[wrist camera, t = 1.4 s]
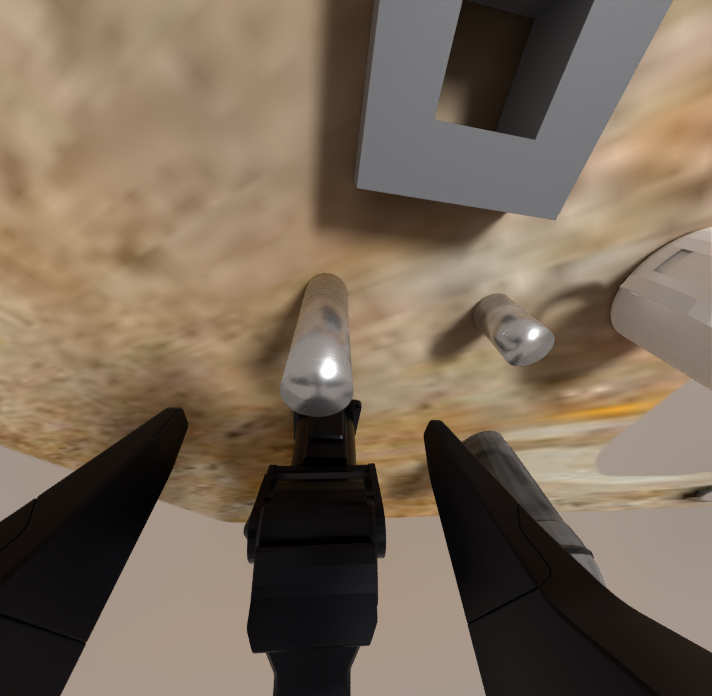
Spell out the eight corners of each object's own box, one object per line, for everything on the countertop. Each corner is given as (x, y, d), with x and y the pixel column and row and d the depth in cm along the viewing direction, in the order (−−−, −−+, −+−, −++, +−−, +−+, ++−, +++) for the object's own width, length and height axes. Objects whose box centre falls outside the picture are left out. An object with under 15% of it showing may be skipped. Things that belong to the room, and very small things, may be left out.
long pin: (344, 313, 20) (348, 418, 12) (305, 309, 19) (280, 414, 11) (349, 275, 18) (357, 368, 10) (306, 270, 18) (278, 362, 10)
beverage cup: (450, 431, 29) (585, 763, 13) (516, 417, 28) (750, 755, 12) (454, 464, 34) (562, 746, 17) (512, 452, 33) (683, 739, 16)
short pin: (500, 328, 21) (537, 368, 17) (466, 325, 21) (496, 364, 17) (518, 295, 20) (564, 330, 16) (482, 291, 19) (519, 325, 15)
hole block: (511, 208, 16) (555, 220, 13) (353, 182, 15) (356, 188, 12) (633, -71, 10) (767, -178, 7) (390, -151, 9) (418, -324, 6)
